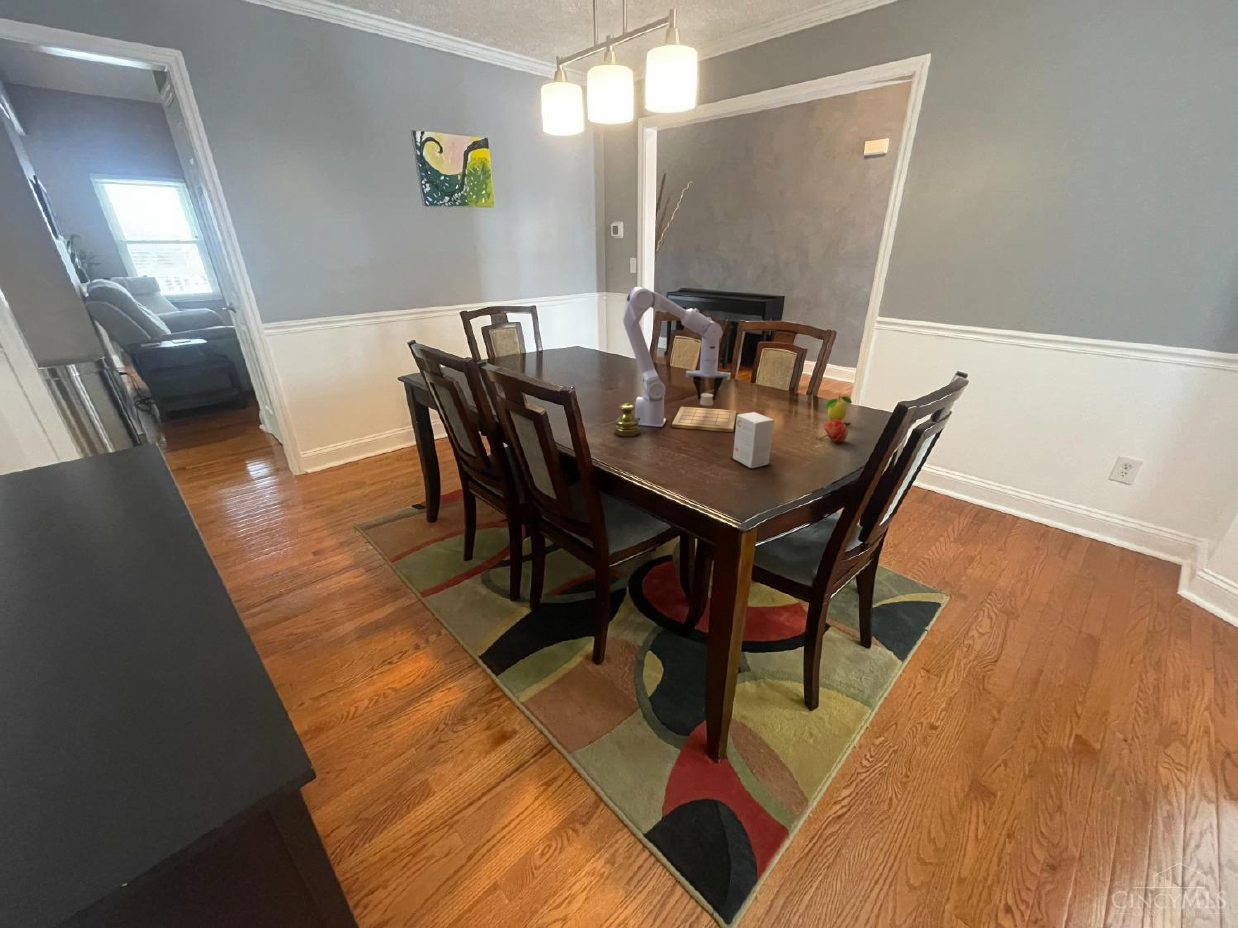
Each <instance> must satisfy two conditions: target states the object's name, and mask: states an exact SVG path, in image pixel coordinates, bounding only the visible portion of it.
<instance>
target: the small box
mask: <svg viewBox="0 0 1238 928" xmlns="http://www.w3.org/2000/svg"><path fill="white" fill-rule="evenodd" d="M774 423H775V420H774V419H772V418H770V417H768V416H765V415H763V414H760V413H758V412H756V411H752V412H746V413H740V414H736V419H735V429H734V430H735V432H734V441H733V442H734V443H733V454H732V459H733V460H735V461H737V462H739V463H741V464H743V465H744V466H746V467H748V468H750V469H755V468H759V467H763V466H767V465H769V464H770V458H771V457H770V456H771V448H772V440H773V432H774Z"/></svg>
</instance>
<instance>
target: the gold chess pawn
mask: <svg viewBox="0 0 1238 928" xmlns="http://www.w3.org/2000/svg"><path fill="white" fill-rule="evenodd" d="M635 406H636V405H634V404H633V403H630V402H624V403H622V404H621V405H619V407H618V408H619V409H620V410H621V411H622V414H621V415H619V417H618V418H616V419H615V424H616V425H615V434H616V435H618V436H619V437H623V438H625V437H626V438H629V437H635V436H637V435H638V434H639V433H640V431H639V430H640V429H639V428H640V427H639V426H640V425H638V424H639V420H638V419H637V418H636V417H635V415H634V414H633V413H632V412H633V411H634V410H635Z"/></svg>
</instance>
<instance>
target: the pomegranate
mask: <svg viewBox="0 0 1238 928" xmlns="http://www.w3.org/2000/svg"><path fill="white" fill-rule="evenodd" d="M850 425H852V423H851V422H844V421H843V420H837V419H829V420H828V421H826V423H824V425H823V429H824V431H825V432H826V435H824V436H822V437H820V438H819V440H822V439H825V438H826V437H828V438H829V439H830V440H831V442H832V443H834V444H838V443H842V442H843V441H845V440H846V439H847V437H848V435H849V429H848V426H850Z"/></svg>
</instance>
